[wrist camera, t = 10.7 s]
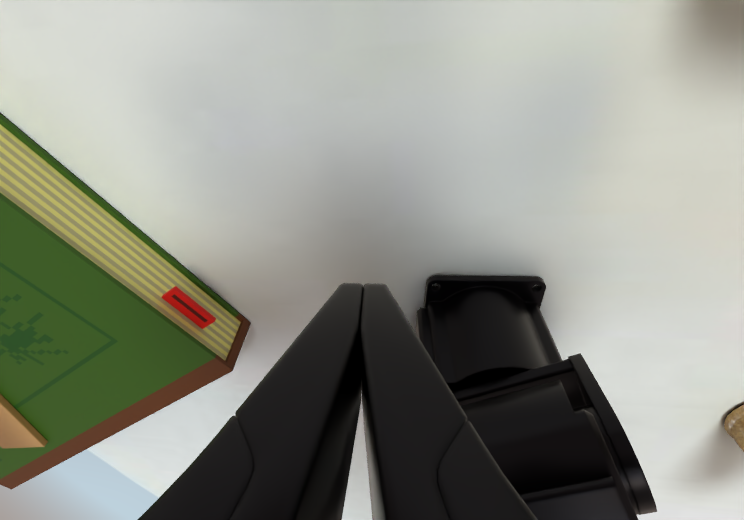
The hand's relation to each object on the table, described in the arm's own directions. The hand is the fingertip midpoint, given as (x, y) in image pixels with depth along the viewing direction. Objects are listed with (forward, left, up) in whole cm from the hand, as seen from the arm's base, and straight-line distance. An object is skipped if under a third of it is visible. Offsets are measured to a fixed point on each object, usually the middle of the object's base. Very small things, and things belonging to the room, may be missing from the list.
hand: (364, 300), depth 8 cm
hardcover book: (+23, +12, -13) cm, 29 cm away
